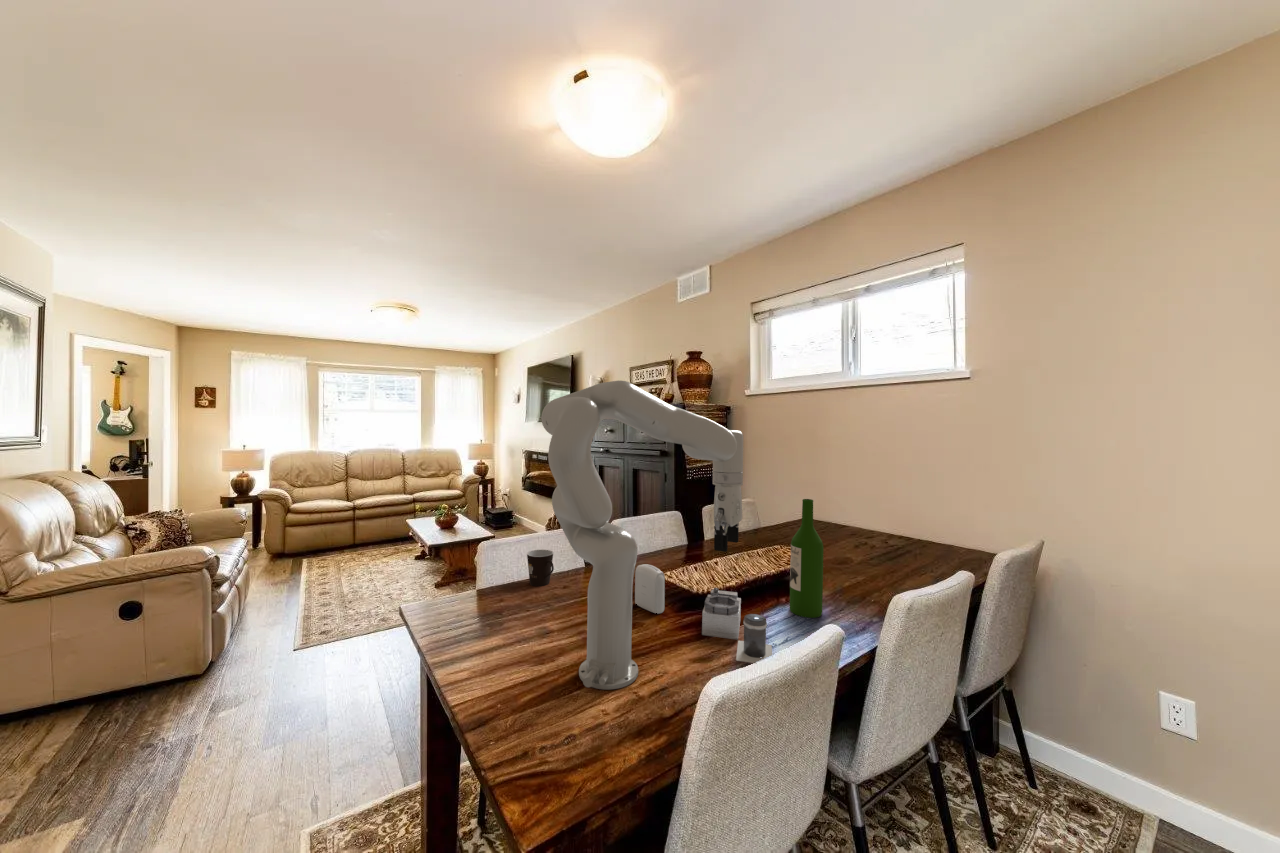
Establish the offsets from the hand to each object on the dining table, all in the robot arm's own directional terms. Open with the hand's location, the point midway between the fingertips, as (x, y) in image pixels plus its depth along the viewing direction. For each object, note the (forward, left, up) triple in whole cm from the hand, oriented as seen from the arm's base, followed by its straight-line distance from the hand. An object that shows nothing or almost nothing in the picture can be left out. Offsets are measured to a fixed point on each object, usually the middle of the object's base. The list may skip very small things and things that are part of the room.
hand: (726, 546), depth 117 cm
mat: (-7, -7, -23) cm, 25 cm away
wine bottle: (+23, -21, -23) cm, 39 cm away
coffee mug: (+20, +62, -23) cm, 69 cm away
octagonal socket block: (+5, +1, -23) cm, 24 cm away
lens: (-7, -7, -23) cm, 25 cm away
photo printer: (+12, +23, -23) cm, 35 cm away
